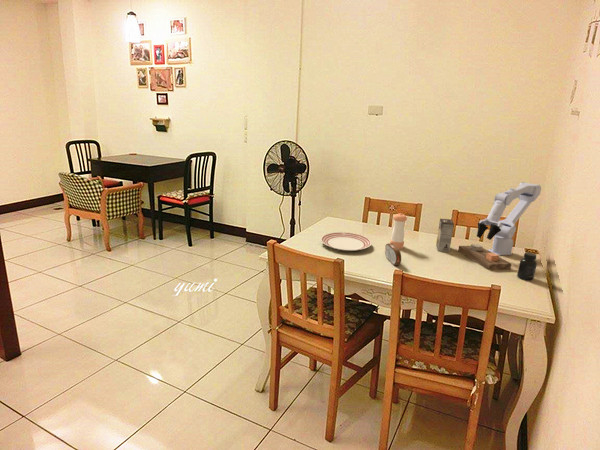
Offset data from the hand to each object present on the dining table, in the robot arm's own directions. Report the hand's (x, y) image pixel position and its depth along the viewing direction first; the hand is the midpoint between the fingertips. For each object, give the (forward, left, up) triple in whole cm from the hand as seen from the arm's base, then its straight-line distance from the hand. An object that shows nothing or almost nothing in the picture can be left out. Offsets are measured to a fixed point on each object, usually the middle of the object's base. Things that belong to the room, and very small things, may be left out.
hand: (483, 238), depth 203 cm
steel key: (0, -4, -9) cm, 10 cm away
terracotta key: (0, +9, -9) cm, 12 cm away
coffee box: (+13, -15, -11) cm, 23 cm away
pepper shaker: (+38, -20, -11) cm, 44 cm away
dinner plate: (+66, -24, -12) cm, 71 cm away
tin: (+50, +1, -11) cm, 51 cm away
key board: (0, +2, -11) cm, 11 cm away
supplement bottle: (-6, +25, -11) cm, 28 cm away
